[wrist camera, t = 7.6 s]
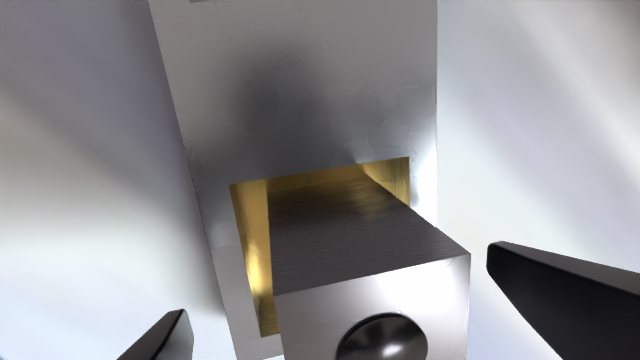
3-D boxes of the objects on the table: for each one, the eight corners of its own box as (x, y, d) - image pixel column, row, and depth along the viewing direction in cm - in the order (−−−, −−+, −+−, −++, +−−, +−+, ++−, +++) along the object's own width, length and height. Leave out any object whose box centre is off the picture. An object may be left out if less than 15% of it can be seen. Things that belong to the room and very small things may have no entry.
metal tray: (396, -310, 8) (440, -440, 6) (410, 284, 14) (435, 317, 12) (89, -336, 7) (22, -506, 5) (241, 322, 13) (238, 365, 11)
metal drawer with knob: (369, 176, 12) (474, 256, 6) (374, 264, 13) (467, 402, 7) (266, 193, 11) (273, 300, 5) (282, 284, 12) (302, 451, 7)
